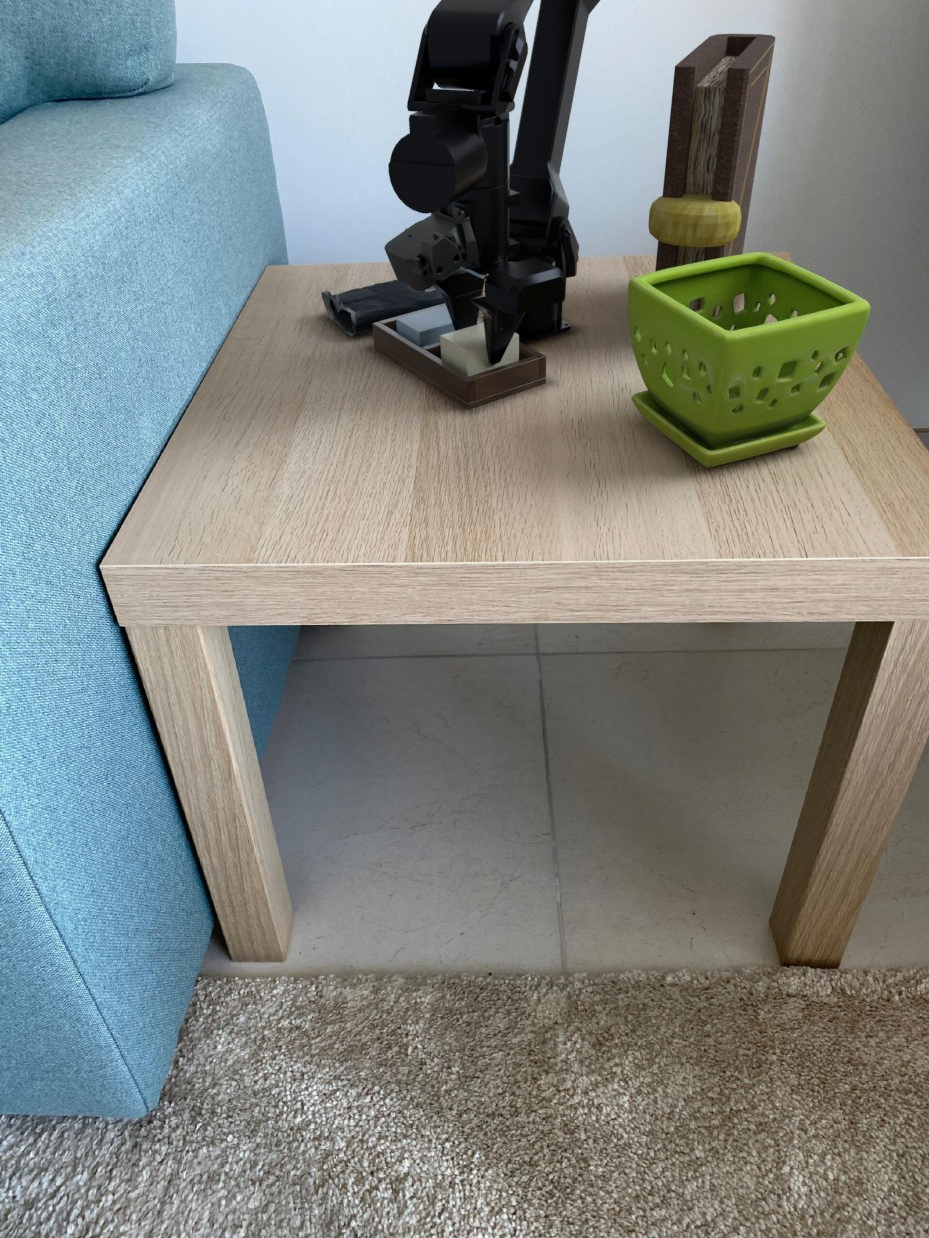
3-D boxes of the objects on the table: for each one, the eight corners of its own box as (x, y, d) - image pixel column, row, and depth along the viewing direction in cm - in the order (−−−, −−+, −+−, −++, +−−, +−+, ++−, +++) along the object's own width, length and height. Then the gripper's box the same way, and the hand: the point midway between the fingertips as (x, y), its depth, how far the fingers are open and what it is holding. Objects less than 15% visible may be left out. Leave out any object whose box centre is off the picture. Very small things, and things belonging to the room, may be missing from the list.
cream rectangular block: (492, 349, 93) (491, 320, 91) (519, 364, 90) (519, 334, 88) (441, 365, 90) (439, 335, 88) (467, 381, 87) (466, 350, 85)
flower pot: (612, 416, 84) (622, 274, 76) (740, 386, 88) (764, 248, 80) (701, 489, 74) (725, 334, 66) (842, 451, 78) (881, 300, 70)
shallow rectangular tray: (447, 328, 101) (446, 302, 100) (546, 383, 90) (546, 355, 88) (374, 349, 97) (371, 323, 96) (467, 409, 86) (467, 381, 84)
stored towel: (446, 333, 99) (445, 304, 97) (470, 346, 96) (469, 317, 94) (397, 347, 96) (395, 318, 94) (421, 361, 93) (419, 332, 91)
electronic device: (360, 356, 99) (482, 309, 103) (345, 305, 96) (471, 258, 100) (331, 338, 107) (445, 294, 111) (316, 290, 104) (434, 247, 107)
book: (675, 281, 110) (702, 33, 94) (748, 288, 108) (789, 34, 92) (630, 354, 94) (654, 71, 79) (716, 365, 92) (758, 75, 76)
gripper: (341, 175, 82) (359, 345, 92) (458, 224, 70) (464, 414, 80) (446, 154, 87) (453, 318, 97) (573, 197, 75) (566, 379, 85)
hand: (480, 355), depth 89 cm, fingers closed on cream rectangular block, 4 cm apart
